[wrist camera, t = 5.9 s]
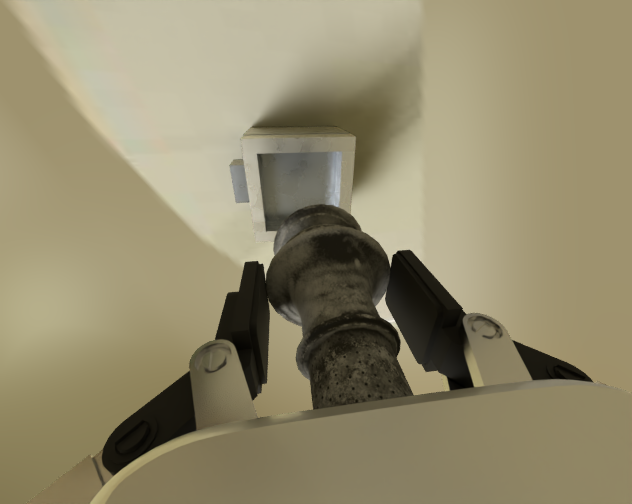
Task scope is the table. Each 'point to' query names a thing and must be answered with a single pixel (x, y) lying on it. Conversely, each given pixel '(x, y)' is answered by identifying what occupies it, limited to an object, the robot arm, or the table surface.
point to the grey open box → (292, 173)
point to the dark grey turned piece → (336, 306)
